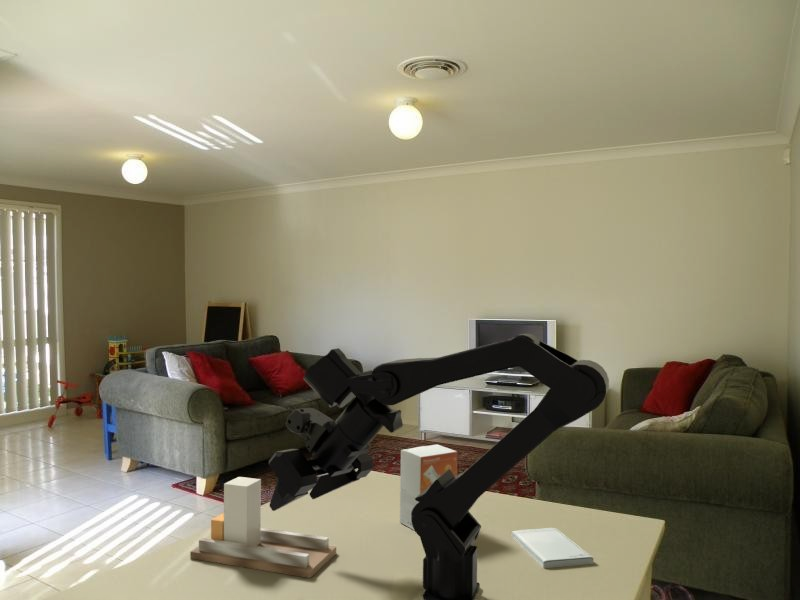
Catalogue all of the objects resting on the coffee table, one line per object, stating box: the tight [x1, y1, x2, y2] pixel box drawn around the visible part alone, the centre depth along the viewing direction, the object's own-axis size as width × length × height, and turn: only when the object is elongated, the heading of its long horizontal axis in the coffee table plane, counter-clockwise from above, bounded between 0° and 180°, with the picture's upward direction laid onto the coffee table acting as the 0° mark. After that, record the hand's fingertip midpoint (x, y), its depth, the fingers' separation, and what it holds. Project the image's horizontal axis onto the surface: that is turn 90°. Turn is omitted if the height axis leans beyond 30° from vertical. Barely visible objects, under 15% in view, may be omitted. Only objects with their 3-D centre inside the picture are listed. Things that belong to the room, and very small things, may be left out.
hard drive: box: [510, 527, 595, 569], centre depth 100 cm, size 2×8×12 cm
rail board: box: [189, 527, 337, 579], centre depth 96 cm, size 20×9×3 cm, turn 72°
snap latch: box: [210, 512, 224, 541], centre depth 98 cm, size 2×4×4 cm, turn 162°
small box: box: [399, 443, 458, 531], centre depth 110 cm, size 8×6×13 cm
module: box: [223, 476, 262, 546], centre depth 97 cm, size 4×4×10 cm
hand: (292, 502), depth 94 cm, fingers open, 9 cm apart
